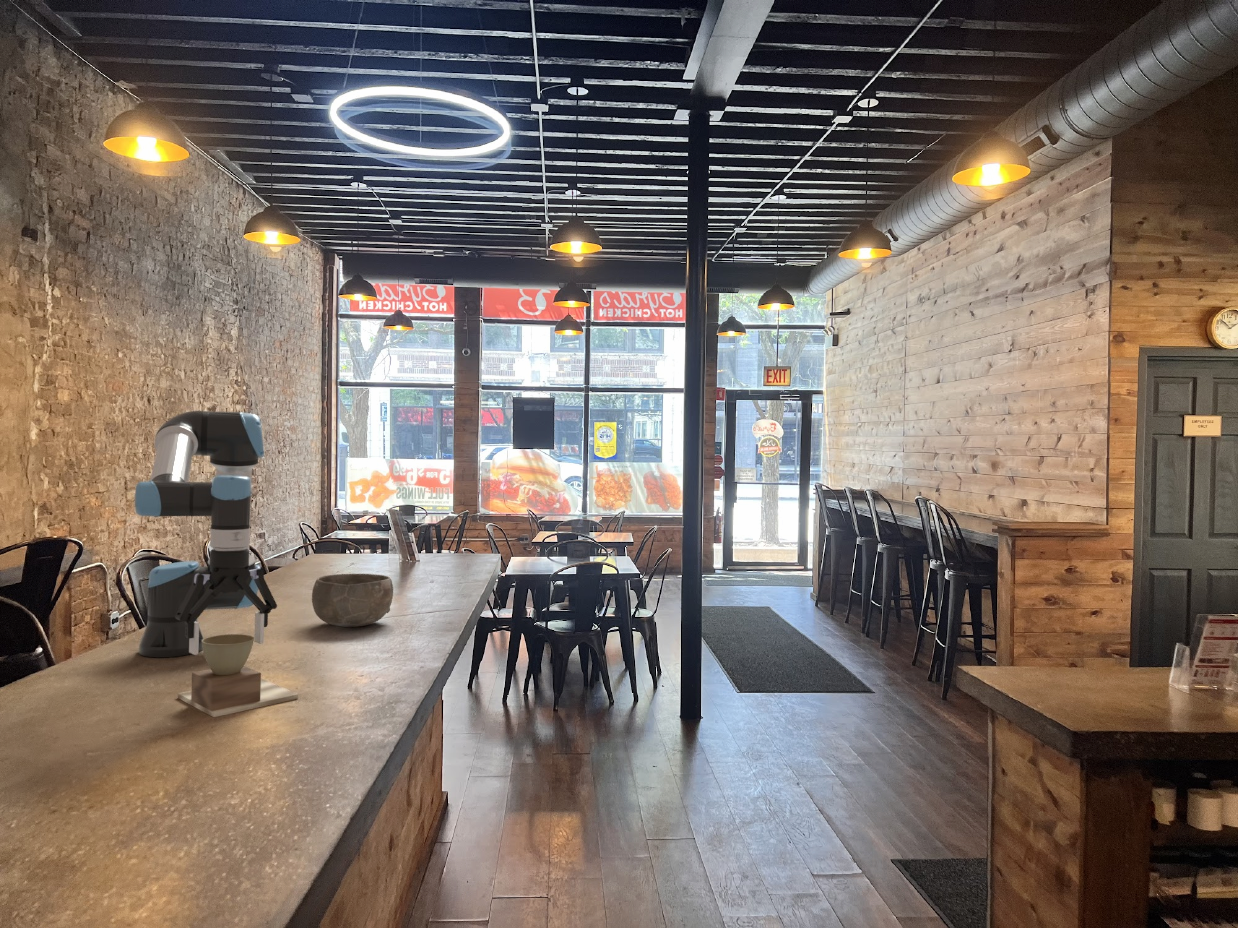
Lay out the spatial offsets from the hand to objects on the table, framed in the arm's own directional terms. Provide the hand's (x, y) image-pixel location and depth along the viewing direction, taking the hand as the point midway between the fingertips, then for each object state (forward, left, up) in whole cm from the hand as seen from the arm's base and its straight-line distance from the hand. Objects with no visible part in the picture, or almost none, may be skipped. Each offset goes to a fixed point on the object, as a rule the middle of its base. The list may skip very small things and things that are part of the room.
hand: (227, 647), depth 171 cm
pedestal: (0, 0, -11) cm, 11 cm away
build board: (-3, +4, -12) cm, 13 cm away
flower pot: (0, 0, -5) cm, 5 cm away
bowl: (-51, +61, -12) cm, 81 cm away
